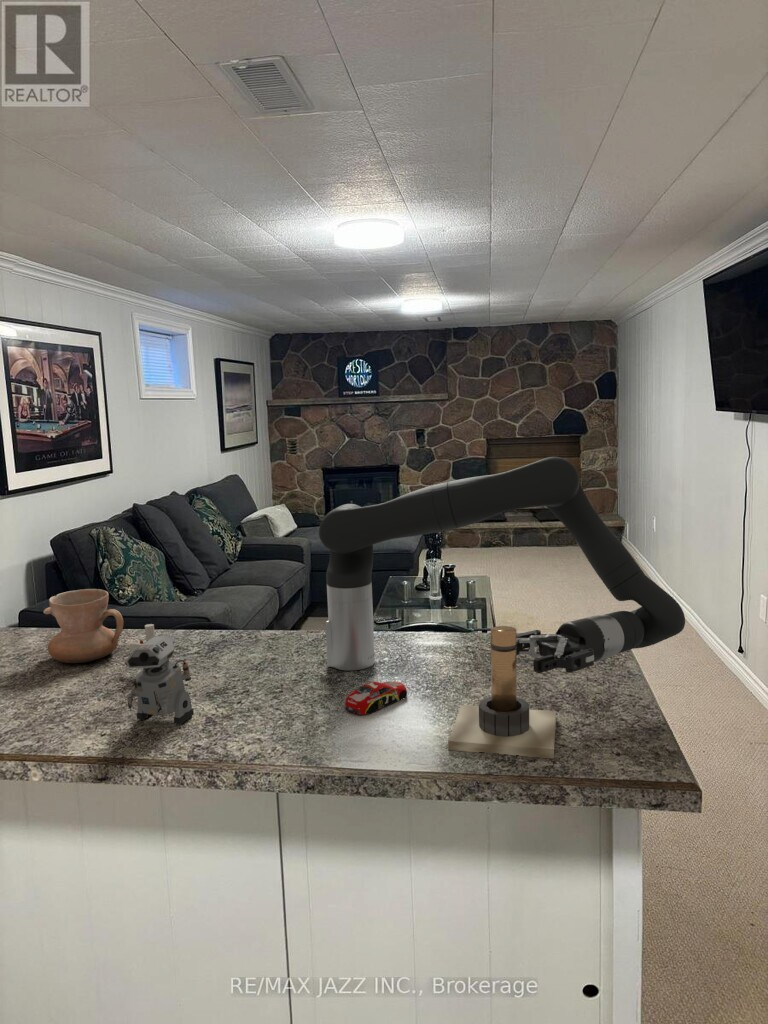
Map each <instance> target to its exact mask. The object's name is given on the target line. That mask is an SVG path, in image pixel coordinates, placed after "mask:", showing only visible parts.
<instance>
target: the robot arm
mask: <svg viewBox="0 0 768 1024" xmlns="http://www.w3.org/2000/svg"><path fill="white" fill-rule="evenodd" d="M544 506H545V507H547V509H549V511H550V512H551V513H552V514H553V515H554V516H555V517H556V518H557V519H558V520H559V521H560V522H561V523H562V525H564V527H565V528H566V530H568V532H569V533H570V535H571V536H572V537H573V539H574V540H575V542H576V543H577V544H578V546H579V548H580V549H581V551H582V552H583V554H584V556H585V557H586V559H587V561H588V562H589V564H590V566H591V567H592V568H593V570H594V571H595V574H597V576H598V577H599V579H600V581H602V583H603V584H604V586H605V587H606V588H607V590H608V591H609V592H610V594H611V596H613V597H614V599H616V600H617V601H618V602H626V601H627V602H628V601H633V602H635V603H636V604H638V605H639V608H637V609H634V610H632V611H628V610H618V611H613V612H609V613H606V614H600V615H599V614H598V615H591V616H587V617H583V618H578V619H576V620H575V619H574V620H571V621H567V622H565V623H564V622H563V623H562V624H561V625H560V626H559V628H558V629H557V631H556V632H555V633H546V634H542V633H541V632H542V631H541V630H540V629H534V630H531V631H524V632H520V633H516V642H517V649H516V656H518V655H529V656H531V658H535V659H534V660H533V672H534V673H537V674H541V673H544V672H545V673H546V672H547V671H548V672H549V671H552V670H555V671H556V670H557V671H562V670H563V669H565V672H566V673H569V674H570V673H574V672H577V671H581V670H583V669H586V668H589V667H592V666H594V665H595V662H598V661H602V660H606V659H608V658H611V657H613V656H615V655H618V654H621V653H624V652H628V651H630V650H633V649H634V650H635V649H643V648H646V647H651V646H653V645H656V644H658V643H661V642H663V641H664V640H667V639H670V638H673V637H675V636H677V635H679V634H680V633H681V632H682V631H683V630H684V628H685V625H686V615H685V613H684V610H683V608H682V606H681V605H680V604H679V603H678V602H677V600H676V599H675V598H674V597H673V596H671V594H669V593H668V592H667V591H666V590H665V589H663V588H662V587H660V586H659V584H657V583H656V582H655V581H653V579H651V578H649V577H648V576H647V575H646V574H645V572H644V571H643V570H642V568H641V566H640V565H639V564H638V562H637V561H636V560H635V559H634V558H633V556H632V555H631V553H630V552H629V551H628V549H627V548H626V546H624V544H623V543H622V542H621V540H620V539H619V538H618V537H617V536H616V535H615V533H613V531H612V530H611V528H609V527H608V526H607V524H606V523H605V522H604V521H603V519H602V518H601V517H600V515H599V514H598V513H597V511H596V510H595V509H594V507H593V506H592V504H591V502H590V500H589V498H588V497H587V495H586V493H585V491H584V489H583V487H582V485H581V483H580V475H579V472H578V470H577V468H576V467H575V465H574V463H572V462H570V461H569V460H568V459H566V458H564V457H559V456H548V457H545V458H542V459H540V460H537V461H534V462H531V463H529V464H526V465H523V466H520V467H517V468H514V469H511V470H508V471H504V472H500V473H495V474H488V475H480V476H479V475H478V476H473V477H471V476H470V477H467V478H460V479H454V480H449V481H446V482H441V483H438V484H432V485H429V486H426V487H423V488H419V489H417V490H413V491H411V492H408V493H406V494H403V495H400V496H399V497H395V498H394V499H391V500H388V501H385V502H382V503H378V504H372V505H366V506H360V505H358V504H355V503H345V504H342V505H339V506H338V507H335V508H334V509H332V510H331V511H329V512H327V513H326V515H325V516H324V518H323V519H321V520H322V521H321V522H320V525H319V528H318V536H319V540H320V542H321V543H322V545H323V546H324V547H325V548H326V549H328V550H329V561H328V566H327V569H326V572H325V573H326V574H325V575H326V595H327V596H326V597H327V615H328V618H327V620H326V621H325V622H324V623H325V624H324V625H325V641H326V645H325V646H326V647H325V648H326V664H327V666H326V667H328V668H334V669H337V670H341V671H359V670H360V671H361V670H364V669H365V670H366V669H368V668H370V667H372V666H373V665H374V664H375V661H376V659H375V636H374V634H375V633H374V611H373V609H374V607H373V586H372V572H373V565H374V545H376V544H379V543H382V542H386V541H390V540H395V539H402V538H411V537H417V536H424V535H430V534H435V533H436V534H437V533H441V532H444V531H450V530H455V529H459V528H460V529H461V528H464V527H466V526H467V527H468V526H470V525H473V524H477V523H480V522H482V521H485V520H487V519H491V518H492V517H493V518H494V517H495V516H498V515H499V514H503V513H506V512H510V511H514V510H520V509H528V508H529V509H530V508H535V507H544ZM535 648H538V651H536V650H535Z"/></svg>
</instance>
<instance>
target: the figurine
mask: <svg viewBox="0 0 768 1024" xmlns="http://www.w3.org/2000/svg"><path fill="white" fill-rule="evenodd" d="M175 641H176V640H175V639H174V638H173V637H171V636H170V635H169V634H167V635H166V634H165V635H155V636H154V637H153V638H151V639H150V640H148V641H146V640H145V641H144V640H143V639H141V640H139V643H140V644H142V645H141V646H139V647H138V648H136V649H135V650H134V651H131V652H132V653H131V654H130V655H129V656H128V657H127V658H126V660H125V662H124V663H125V666H127V667H128V669H142V670H140V671H139V672H138V673H137V674H135V675H134V678H133V679H132V681H133V686H134V687H133V688H132V689H131V692H130V693H129V694H127V695H126V699H127V701H126V702H127V707H128V709H129V710H132V708H133V707H134V706H133V702H134V697H137V712H136V719H137V720H139V721H140V720H141V721H145V719H148V718H149V716H152V715H153V716H154V715H155V716H167V715H169V714H171V713H174V717H173V724H175V725H177V726H182V725H183V724H185V723H186V721H189V720H190V719H192V718H193V716H194V715H195V712H194V708H193V707H192V699H191V696H190V694H189V693H188V692H187V691H186V689H185V684H184V681H186V682H189V681H191V680H192V677H191V675H190V674H191V673H190V669H189V668H190V667H189V664H188V662H186V661H184V660H182V659H181V660H177V661H176V662H170V659H171V658H172V657H173V655H174V652H175V647H174V644H175ZM180 662H182V664H181V665H182V668H181V666H180V664H179V663H180ZM182 670H183V671H182Z"/></svg>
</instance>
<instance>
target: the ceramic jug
mask: <svg viewBox="0 0 768 1024" xmlns="http://www.w3.org/2000/svg"><path fill="white" fill-rule="evenodd" d="M109 596H110V595H109V592H108V591H107V590H104V589H100V588H98V589H97V588H85V589H77V590H69V591H65V592H61V593H58V594H56V595H54V596H53V595H52V596H51V597H50V598H49V599H48V603H49V607H47V608H44V610H43V614H45V615H52V616H53V617H55V620H56V622H57V624H58V625H59V627H60V629H61V631H59V632H58V633H57V634H56V635H55V636H54V637H52V638H51V639H50V640H48V641H49V642H48V645H47V652H48V654H49V656H50V657H51V658H52V659H54V660H55V661H58V662H61V663H65V664H66V663H67V664H82V663H88V662H93V661H96V660H100V659H102V658H105V657H106V656H108V655H110V654H112V652H114V651H115V650H116V649H117V647H118V644H119V639H120V636H121V635H122V632H123V630H124V629H123V628H124V618H123V616H122V615H123V614H121V612H120V611H118V610H117V609H115V608H113V609H112V608H109V609H108V603H109V598H110V597H109ZM109 616H113V617H114V618H115V625H116V627H115V631H113V629H110V628H108V627H105V626H104V625H103V623H104V621H105V620H106V618H108V617H109Z"/></svg>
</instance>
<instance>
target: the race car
mask: <svg viewBox="0 0 768 1024" xmlns="http://www.w3.org/2000/svg"><path fill="white" fill-rule="evenodd" d="M407 696H408V690H407V686H405V685H404V684H403V683H402V682H398V681H383V682H378V681H370V682H367V683H365V684H362V685H361V686H359V687H358V688H356V689H354V691H352V692H351V693H350V694H349V693H348V695H347V696H346V698H345V702H344V709H345V711H348V712H351V713H354V714H358V715H368V714H369V715H371V714H374V713H377V712H376V711H378V710H381V709H383V708H385V707H388V706H390V705H392V704H394V703H396V702H399V701H402V700H404V699H403V698H405V699H406V697H407ZM401 699H402V700H401ZM373 712H374V713H373Z"/></svg>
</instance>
